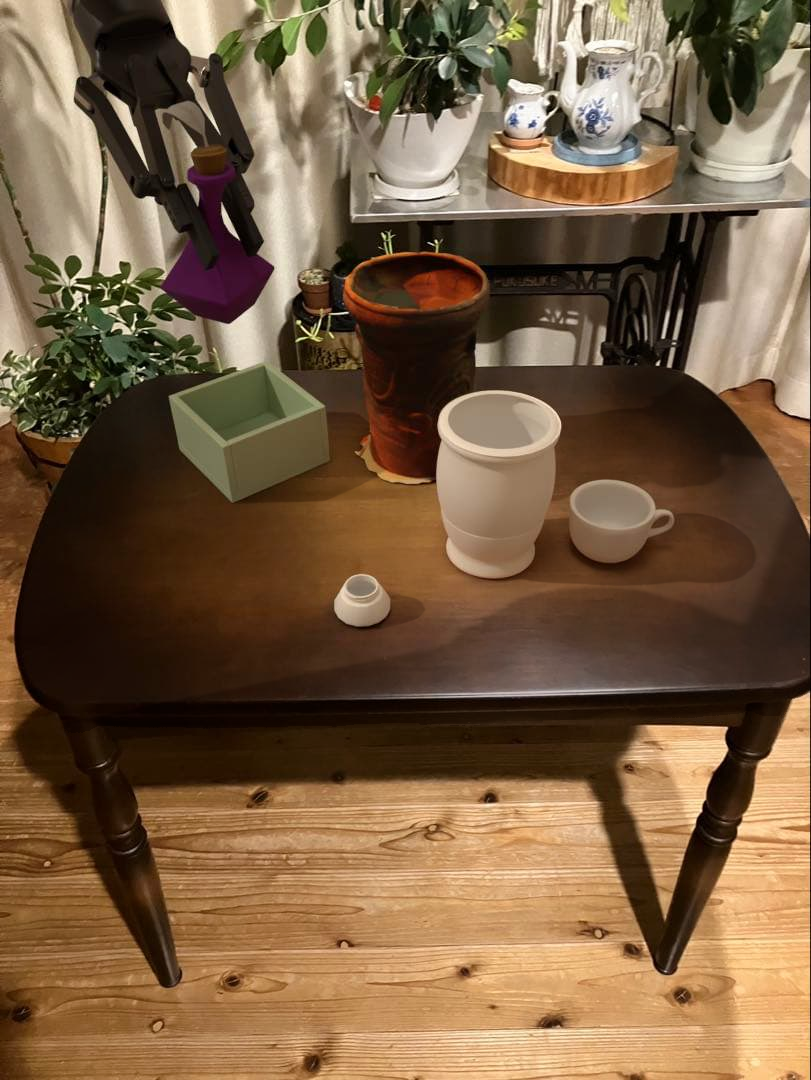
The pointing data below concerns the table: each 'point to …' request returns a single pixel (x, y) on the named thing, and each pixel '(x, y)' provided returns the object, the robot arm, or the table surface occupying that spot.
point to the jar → (495, 479)
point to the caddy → (250, 429)
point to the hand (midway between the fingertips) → (234, 255)
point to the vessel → (413, 352)
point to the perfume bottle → (234, 273)
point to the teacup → (612, 520)
